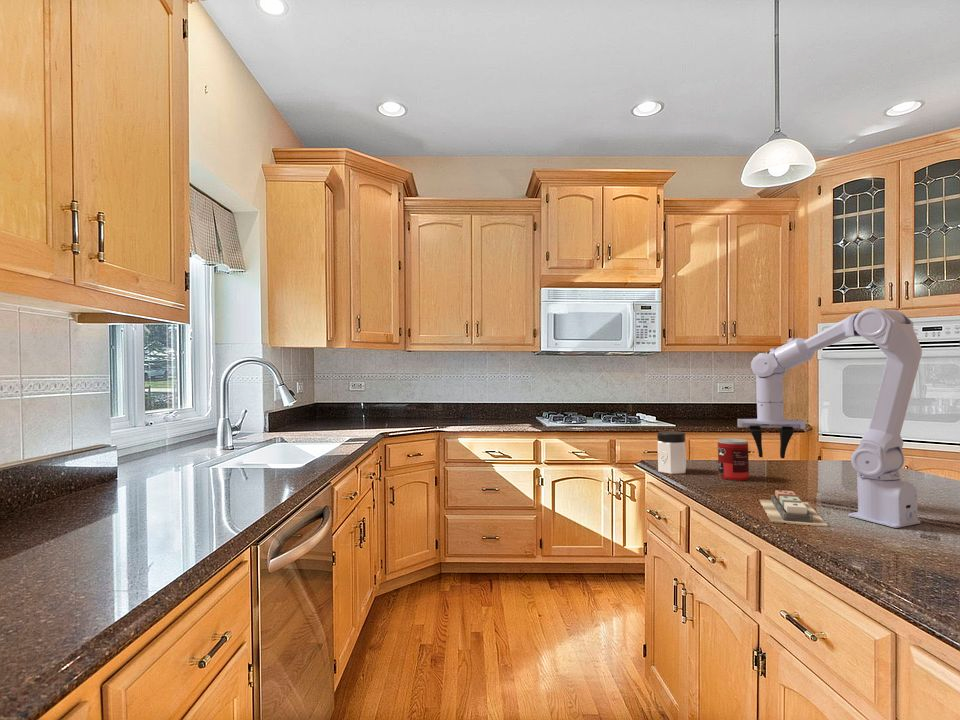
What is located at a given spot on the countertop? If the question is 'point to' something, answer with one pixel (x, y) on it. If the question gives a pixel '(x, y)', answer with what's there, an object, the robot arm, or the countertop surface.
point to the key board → (790, 514)
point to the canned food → (733, 459)
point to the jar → (671, 452)
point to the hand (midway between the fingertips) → (771, 457)
